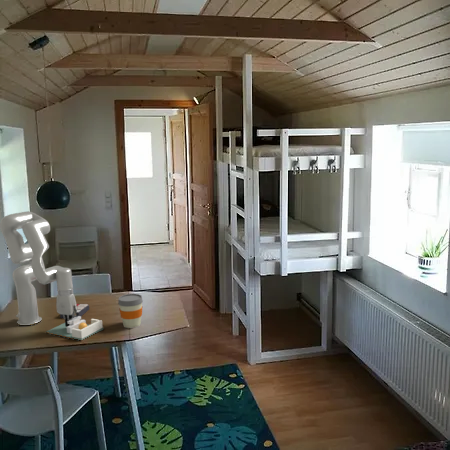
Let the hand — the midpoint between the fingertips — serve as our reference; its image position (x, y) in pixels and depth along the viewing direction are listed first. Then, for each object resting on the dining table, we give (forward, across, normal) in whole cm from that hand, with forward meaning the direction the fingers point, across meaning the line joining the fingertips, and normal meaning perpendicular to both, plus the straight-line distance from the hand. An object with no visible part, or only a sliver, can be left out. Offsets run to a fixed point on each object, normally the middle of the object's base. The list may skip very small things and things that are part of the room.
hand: (68, 325), depth 249 cm
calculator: (+3, -15, +20) cm, 25 cm away
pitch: (+2, +4, 0) cm, 4 cm away
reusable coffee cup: (+3, +26, +19) cm, 32 cm away
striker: (+1, +5, 0) cm, 5 cm away
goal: (+1, +13, 0) cm, 13 cm away
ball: (-1, +10, 0) cm, 10 cm away
